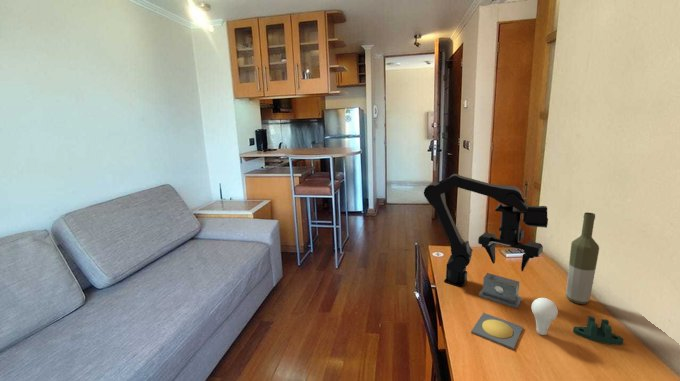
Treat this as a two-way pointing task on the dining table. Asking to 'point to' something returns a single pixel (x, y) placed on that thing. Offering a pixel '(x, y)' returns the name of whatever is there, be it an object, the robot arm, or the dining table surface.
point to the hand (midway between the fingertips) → (507, 266)
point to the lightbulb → (544, 314)
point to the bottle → (582, 263)
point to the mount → (598, 332)
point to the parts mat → (497, 330)
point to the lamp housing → (501, 290)
